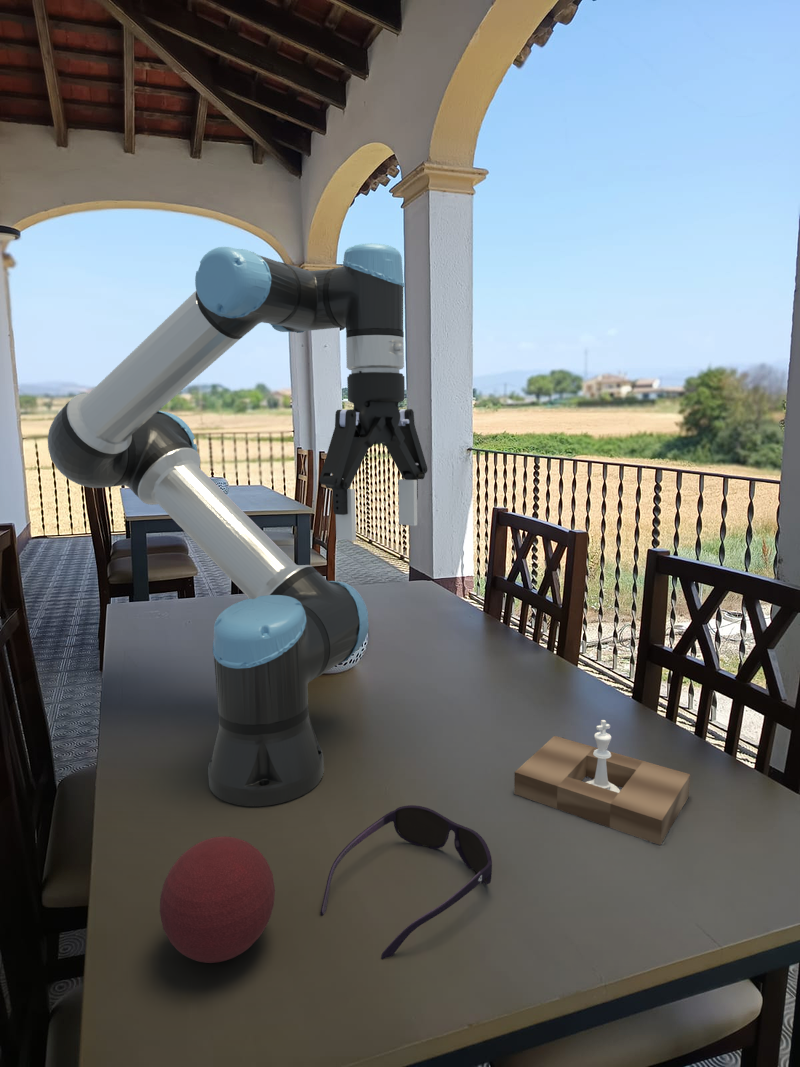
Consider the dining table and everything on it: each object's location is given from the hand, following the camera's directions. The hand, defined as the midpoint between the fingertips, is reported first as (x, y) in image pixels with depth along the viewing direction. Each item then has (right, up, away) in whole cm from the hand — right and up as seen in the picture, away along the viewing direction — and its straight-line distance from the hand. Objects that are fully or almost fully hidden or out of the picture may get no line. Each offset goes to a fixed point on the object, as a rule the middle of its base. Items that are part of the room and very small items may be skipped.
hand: (378, 531), depth 93 cm
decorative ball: (-13, -38, -31) cm, 51 cm away
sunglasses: (+4, -37, -24) cm, 44 cm away
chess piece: (+28, -33, -7) cm, 44 cm away
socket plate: (+28, -33, -7) cm, 44 cm away
